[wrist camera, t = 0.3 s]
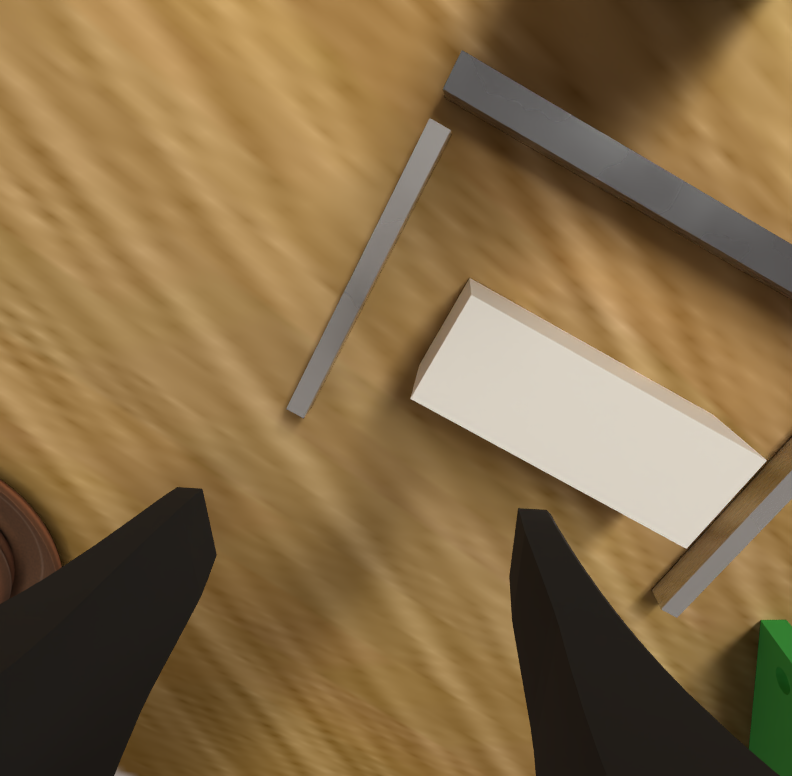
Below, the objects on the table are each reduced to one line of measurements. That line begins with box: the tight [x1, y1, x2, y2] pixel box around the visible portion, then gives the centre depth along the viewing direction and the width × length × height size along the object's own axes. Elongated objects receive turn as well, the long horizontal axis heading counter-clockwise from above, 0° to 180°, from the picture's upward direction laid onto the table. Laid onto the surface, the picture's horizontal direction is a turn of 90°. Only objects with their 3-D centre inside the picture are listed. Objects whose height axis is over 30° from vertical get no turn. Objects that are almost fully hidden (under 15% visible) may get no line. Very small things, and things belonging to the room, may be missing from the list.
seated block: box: [410, 278, 767, 549], centre depth 20 cm, size 4×11×4 cm, turn 62°
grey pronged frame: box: [287, 51, 792, 617], centre depth 21 cm, size 14×37×2 cm, turn 62°
